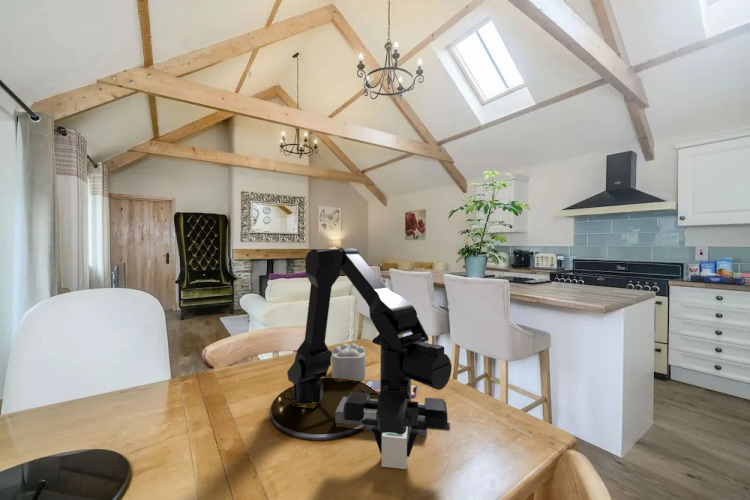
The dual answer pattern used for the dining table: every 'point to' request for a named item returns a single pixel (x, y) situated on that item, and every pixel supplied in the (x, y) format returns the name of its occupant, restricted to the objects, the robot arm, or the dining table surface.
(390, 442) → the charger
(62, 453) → the dining table surface
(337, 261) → the robot arm
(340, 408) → the power strip
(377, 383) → the smartphone
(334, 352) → the lumpy-topped squat cylinder
